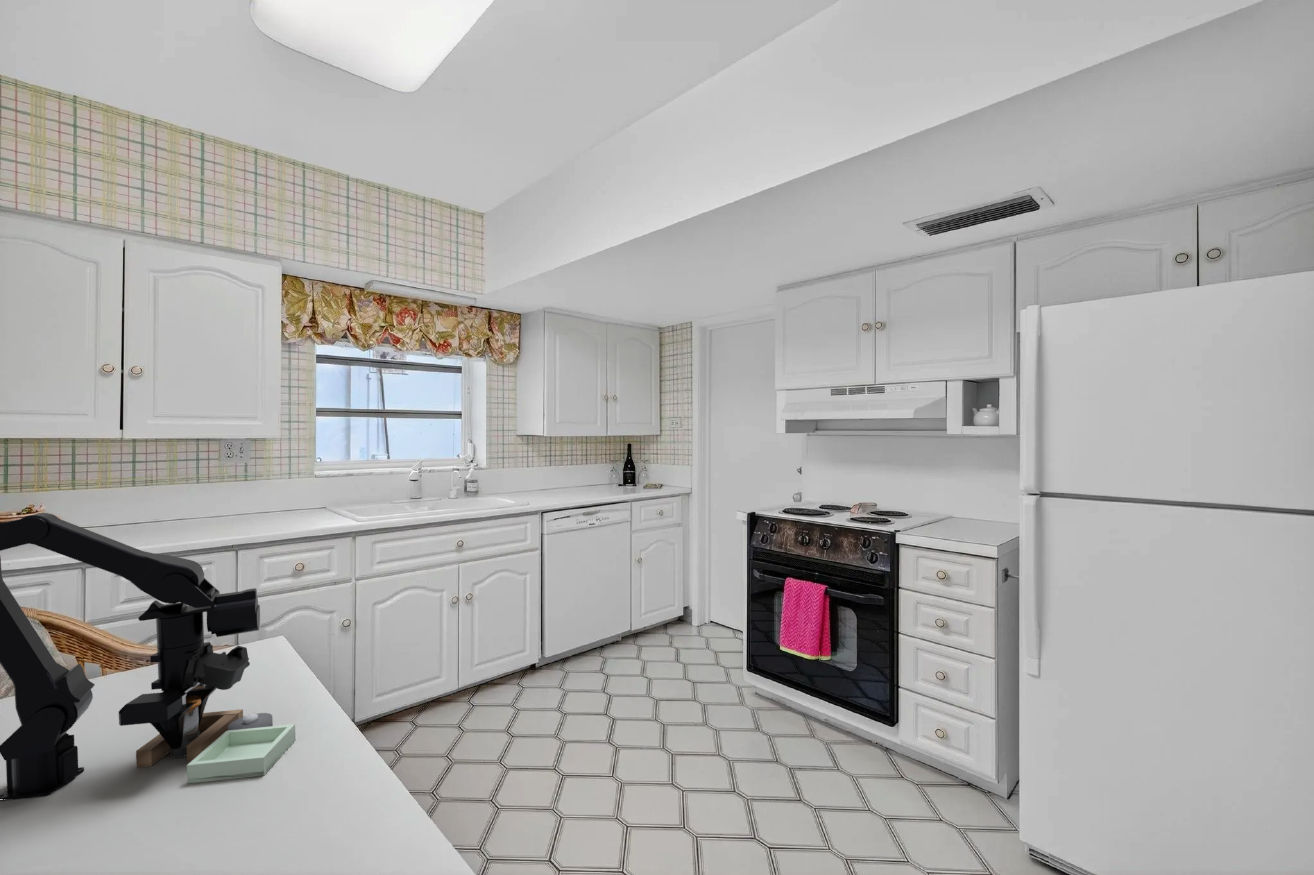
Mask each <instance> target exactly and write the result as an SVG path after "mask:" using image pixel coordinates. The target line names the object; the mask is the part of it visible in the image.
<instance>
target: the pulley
mask: <svg viewBox="0 0 1314 875" xmlns="http://www.w3.org/2000/svg"><path fill="white" fill-rule="evenodd" d="M273 722H274V721H273V715H272V714H271V713H268V712H259V713H252V714H247V715H245V716H244V715H243V717H242V718H239V719H237V720H235V721H233V722H232V723H230V724H229V726H228V730H239V729H249V728H260V727H270V726H274V724H273Z"/></svg>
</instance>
